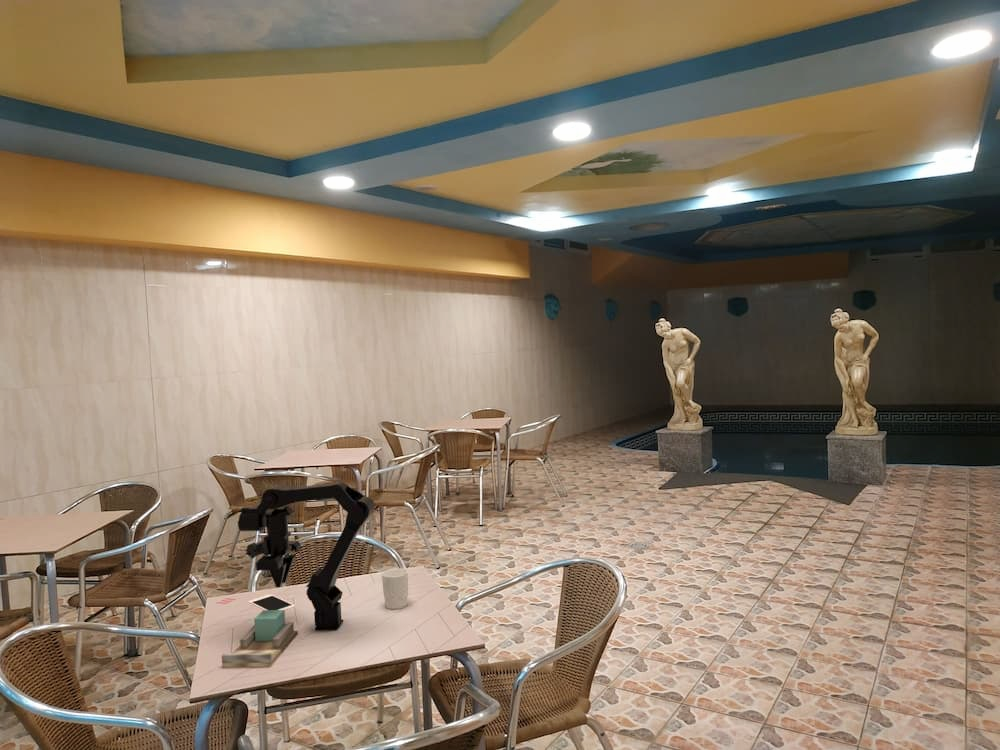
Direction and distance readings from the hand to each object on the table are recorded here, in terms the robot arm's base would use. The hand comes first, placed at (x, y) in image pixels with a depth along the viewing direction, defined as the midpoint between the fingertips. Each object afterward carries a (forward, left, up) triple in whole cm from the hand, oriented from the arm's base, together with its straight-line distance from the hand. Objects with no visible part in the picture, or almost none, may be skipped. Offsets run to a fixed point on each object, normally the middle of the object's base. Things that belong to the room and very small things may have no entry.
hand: (280, 584), depth 198 cm
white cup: (-30, -15, -12) cm, 35 cm away
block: (0, +9, -11) cm, 14 cm away
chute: (0, +15, -12) cm, 19 cm away
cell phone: (+10, -18, -13) cm, 24 cm away
